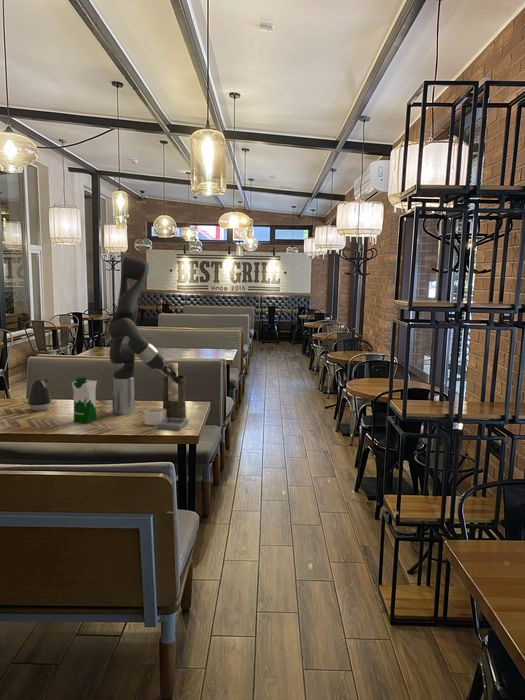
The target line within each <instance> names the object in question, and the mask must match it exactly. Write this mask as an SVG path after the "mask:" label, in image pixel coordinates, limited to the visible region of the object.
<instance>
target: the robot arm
mask: <svg viewBox="0 0 525 700" xmlns="http://www.w3.org/2000/svg"><path fill="white" fill-rule="evenodd" d="M149 268H150V265H149V262H148V261H147V260H144V259H140V258H137V257H136V258H135V257H130V256H125V257H124V259H123V261H122V264H121V269H120V270H121V272H120V283H119V284H120V285H119V292H118V294H119V295H118V299H117V306H116V312H115V313H114V314H113V316H112V318H111V320H110V323H109V324H108V325H109V326H108V333H109V336H110V337H111V338H112V339H111V343H110V347H109V352H108V353H109V361H110V363H112V364H114V365H116V364H117V365H119V364H124V365H122V366H121V367H120V368H118V369H117V370H115V371H113V393H112V394H111V397H112V398H111V400H112V403H111V405H112V406H111V407H112V414H115V415H118V416H124V415H129V414H130V415H131V414H133V413H134V412H135V367H136V366H135V362H136V356H137V357H138V359H140V360H141V361H142V362H143V363H144V364H145V365H146V366H147V367H148V368H149V369H150V370H155V369H156V370H157V371H158V372H160V373H161V375H163V376H164V377H165V376H166V377H168V376H169V377H170V378H171V379H173V380H174V381H175V382H176V383H177V384H179V383H180V382H181V380H180V379H179V378H178V377H177V376H176V375H177V374H176V373H175V372H174V371H173V370H172V368H171V367H169V366H168V364H167V363H166V362H164V359H165V356H164V355H163V354H162V352H160V350H158V349H157V348H156V347H155V346H154V345H153V344H152V343H150V342H149V341H148V340H147V339H146V338H145V337H144V336H143V335H142V334H141V332H140V330H139V328H138V327H137V325H136V322H137V320H138V313H139V305H138V302H139V301H138V300H139V299H140V296H141V294H142V292H143V289H144V286H145V283H146V280H147V278H148V274H149ZM130 280H133V281H136V282H135V283H134V284H133V285H132V286H131V287H130V283H129V281H130ZM125 337H128V339H129V340H128V341H127V343H123V340H124V339H125ZM172 374H173V375H172Z"/></svg>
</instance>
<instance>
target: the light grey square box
mask: <svg viewBox="0 0 525 700" xmlns="http://www.w3.org/2000/svg"><path fill="white" fill-rule="evenodd" d="M143 412H144V414H143V415H144V425H149V426H151V425H152V426H158V423H160V422H161V421H163V420H164V419H166V409H163V408H161V407H160V408H159V407H157V408H156V407H150V408H148V409H147V410H145V411H143Z"/></svg>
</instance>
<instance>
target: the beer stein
mask: <svg viewBox="0 0 525 700" xmlns="http://www.w3.org/2000/svg"><path fill="white" fill-rule="evenodd" d="M178 378H179V379H180V380H181V382H180V383H179V384H178V401H169V396H168V377H166V376H165V375H164V376H163V379H162V381H163V390H162V409H166V418H178V419H187V414H186V412H187V409H186V408H187V407H186V396H187V382H186V377H185V376H184V375H179V374H178Z"/></svg>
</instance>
